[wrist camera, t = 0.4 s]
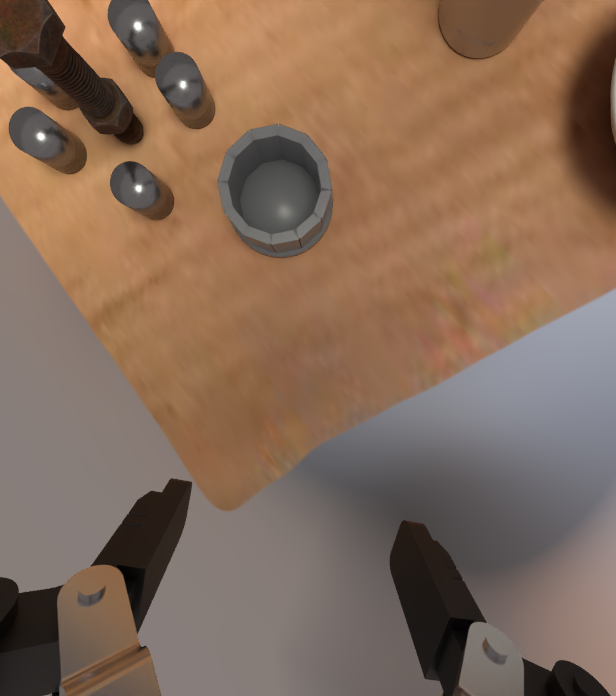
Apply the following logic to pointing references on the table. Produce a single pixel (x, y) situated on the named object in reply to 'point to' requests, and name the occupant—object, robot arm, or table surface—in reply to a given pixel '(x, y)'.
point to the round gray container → (276, 190)
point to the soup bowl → (613, 101)
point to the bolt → (63, 66)
